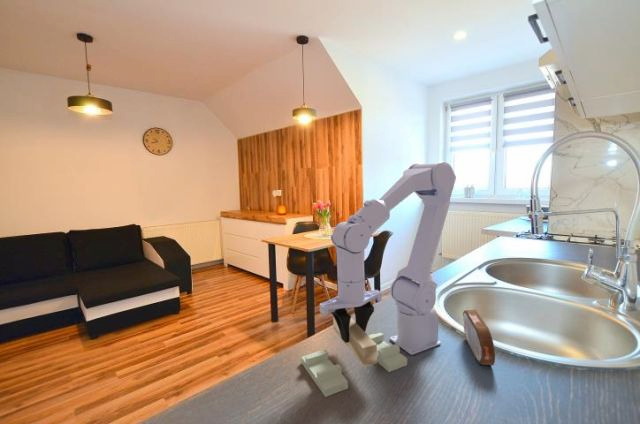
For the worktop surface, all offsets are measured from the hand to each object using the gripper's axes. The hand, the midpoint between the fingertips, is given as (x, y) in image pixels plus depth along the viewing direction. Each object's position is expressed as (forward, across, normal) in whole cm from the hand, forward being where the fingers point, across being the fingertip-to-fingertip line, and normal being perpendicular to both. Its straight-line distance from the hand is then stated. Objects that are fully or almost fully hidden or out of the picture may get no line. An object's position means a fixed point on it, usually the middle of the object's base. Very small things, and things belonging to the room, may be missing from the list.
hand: (352, 337), depth 66 cm
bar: (+2, 0, 0) cm, 2 cm away
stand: (+6, 0, 0) cm, 6 cm away
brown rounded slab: (+6, -27, +10) cm, 29 cm away
